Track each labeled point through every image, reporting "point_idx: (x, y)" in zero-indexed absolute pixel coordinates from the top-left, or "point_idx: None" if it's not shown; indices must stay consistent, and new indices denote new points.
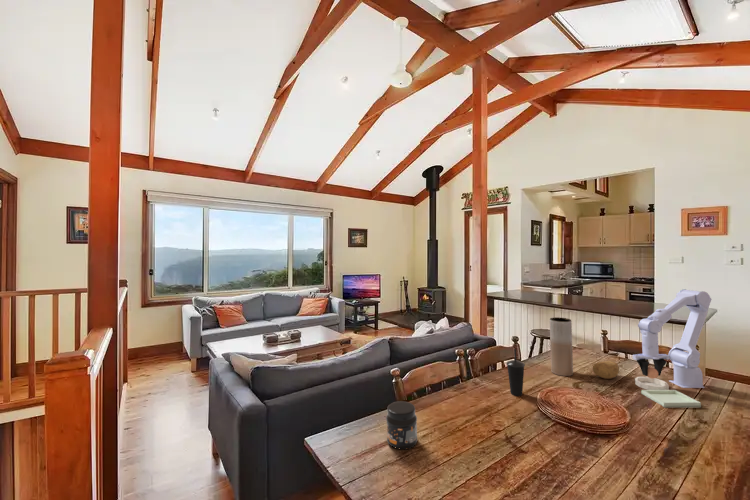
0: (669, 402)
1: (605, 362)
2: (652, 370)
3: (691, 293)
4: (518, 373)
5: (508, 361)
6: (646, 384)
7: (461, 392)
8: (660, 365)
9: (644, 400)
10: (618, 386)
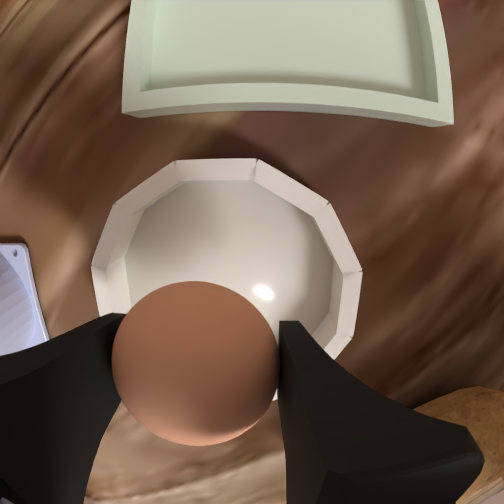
0: None
1: (469, 492)
2: (205, 348)
3: None
4: None
5: None
6: (332, 230)
7: None
8: (25, 380)
9: (464, 42)
10: (472, 291)
